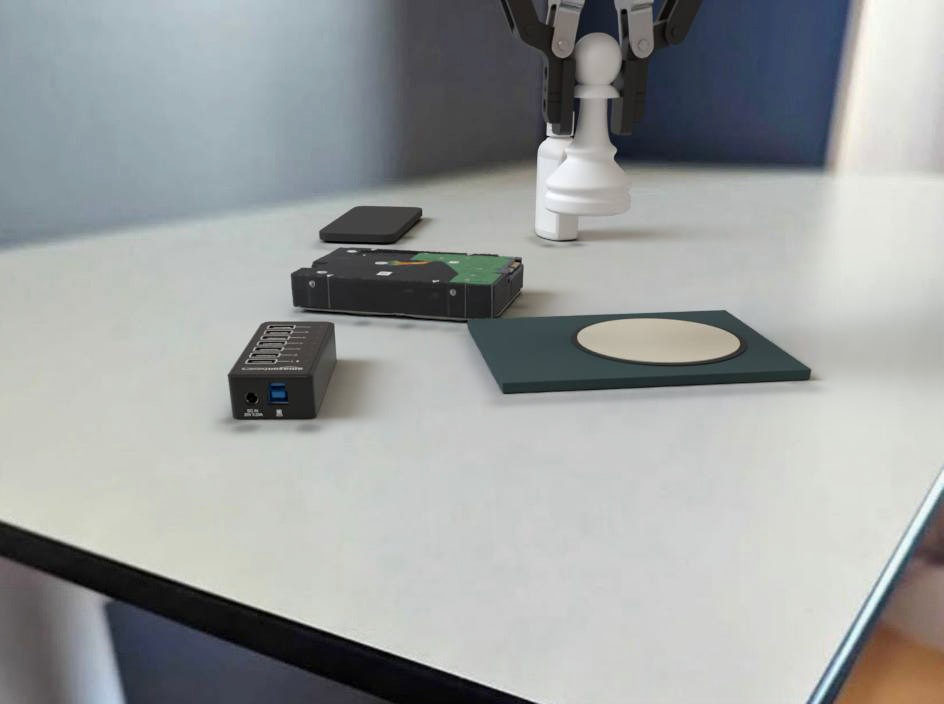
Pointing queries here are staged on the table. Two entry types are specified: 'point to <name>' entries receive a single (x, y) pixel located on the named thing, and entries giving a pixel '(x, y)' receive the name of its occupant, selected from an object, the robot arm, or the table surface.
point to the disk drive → (409, 283)
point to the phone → (371, 224)
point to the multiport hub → (283, 371)
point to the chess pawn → (591, 139)
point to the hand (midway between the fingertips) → (592, 132)
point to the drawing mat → (628, 351)
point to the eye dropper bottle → (547, 163)
